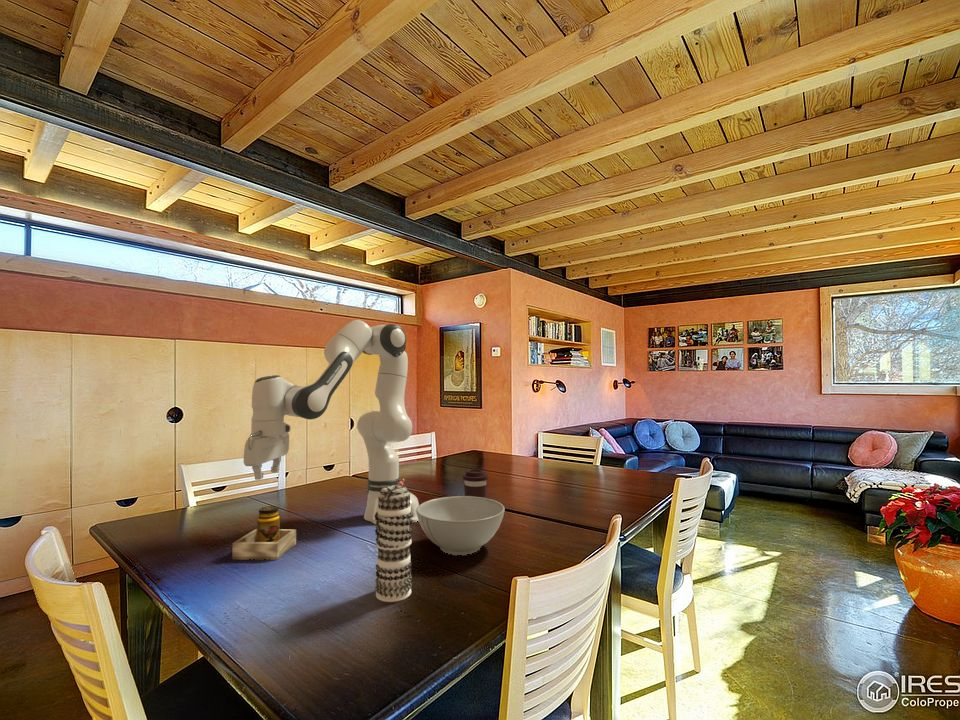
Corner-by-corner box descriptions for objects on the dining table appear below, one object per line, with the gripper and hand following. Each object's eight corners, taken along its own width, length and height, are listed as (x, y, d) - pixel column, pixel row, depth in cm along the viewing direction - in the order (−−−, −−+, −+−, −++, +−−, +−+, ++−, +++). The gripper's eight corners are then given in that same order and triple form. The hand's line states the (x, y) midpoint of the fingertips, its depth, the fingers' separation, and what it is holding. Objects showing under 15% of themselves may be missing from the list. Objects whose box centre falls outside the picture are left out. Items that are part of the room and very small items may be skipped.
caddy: (296, 544, 137) (296, 529, 137) (277, 559, 125) (277, 543, 125) (254, 543, 137) (255, 529, 138) (232, 559, 125) (232, 543, 126)
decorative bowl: (399, 558, 126) (399, 515, 126) (439, 528, 151) (439, 493, 151) (487, 572, 117) (487, 525, 117) (515, 538, 142) (514, 500, 142)
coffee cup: (465, 505, 179) (465, 468, 180) (489, 506, 178) (489, 468, 179) (460, 512, 169) (460, 473, 170) (486, 513, 168) (486, 473, 169)
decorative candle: (377, 606, 99) (378, 493, 100) (370, 588, 108) (371, 485, 109) (417, 598, 103) (417, 489, 104) (407, 581, 111) (408, 481, 112)
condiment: (268, 554, 127) (269, 512, 127) (244, 551, 129) (245, 509, 130) (286, 545, 134) (287, 505, 134) (263, 542, 136) (264, 503, 137)
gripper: (259, 433, 122) (259, 483, 122) (293, 425, 143) (292, 468, 142) (237, 433, 123) (236, 483, 122) (273, 425, 143) (273, 468, 143)
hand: (267, 475), depth 132 cm, fingers open, 8 cm apart
